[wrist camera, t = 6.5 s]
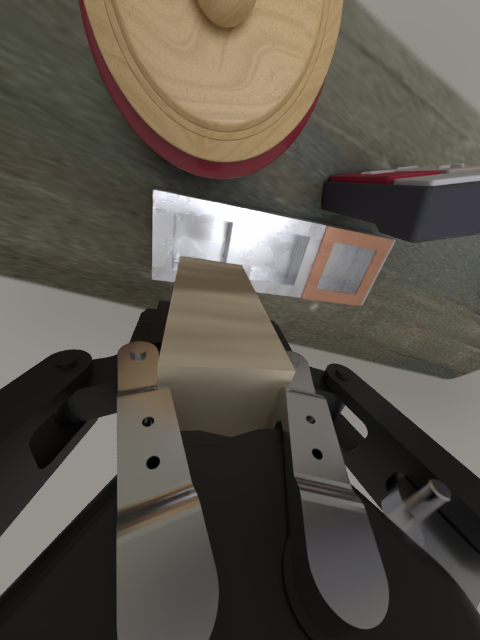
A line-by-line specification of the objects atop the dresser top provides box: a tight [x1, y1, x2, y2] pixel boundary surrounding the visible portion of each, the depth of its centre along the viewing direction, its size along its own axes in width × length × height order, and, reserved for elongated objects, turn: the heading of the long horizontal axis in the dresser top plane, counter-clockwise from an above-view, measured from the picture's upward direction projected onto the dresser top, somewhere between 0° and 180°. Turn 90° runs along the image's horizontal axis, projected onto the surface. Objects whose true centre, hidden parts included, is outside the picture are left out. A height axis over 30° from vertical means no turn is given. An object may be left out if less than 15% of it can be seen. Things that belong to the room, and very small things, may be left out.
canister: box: [79, 0, 343, 179], centre depth 15 cm, size 13×13×18 cm
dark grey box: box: [322, 163, 480, 243], centre depth 22 cm, size 11×4×15 cm, turn 95°
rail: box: [152, 188, 396, 306], centre depth 29 cm, size 9×28×4 cm, turn 79°
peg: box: [157, 256, 295, 437], centre depth 12 cm, size 4×4×10 cm
